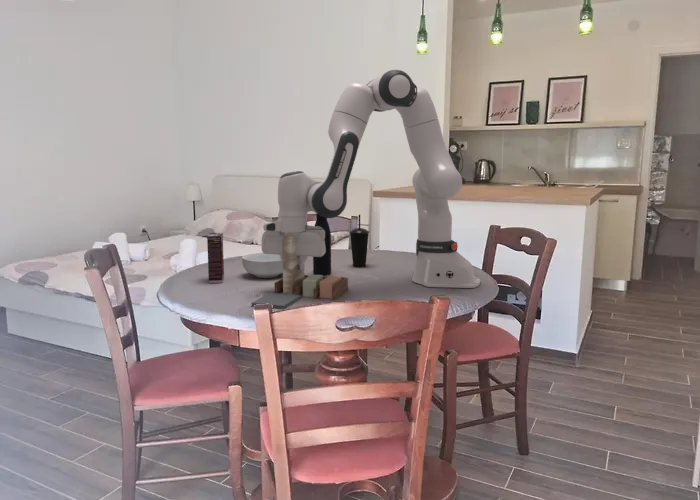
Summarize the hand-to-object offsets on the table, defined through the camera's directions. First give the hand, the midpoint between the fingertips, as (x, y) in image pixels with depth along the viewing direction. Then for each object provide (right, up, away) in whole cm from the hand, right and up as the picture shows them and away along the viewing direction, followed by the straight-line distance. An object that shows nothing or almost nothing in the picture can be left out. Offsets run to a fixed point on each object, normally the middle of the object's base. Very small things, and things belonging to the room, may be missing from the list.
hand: (293, 269), depth 167 cm
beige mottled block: (0, -7, +1) cm, 7 cm away
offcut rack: (+6, -7, 0) cm, 9 cm away
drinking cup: (+21, -1, +40) cm, 45 cm away
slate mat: (-4, -9, -11) cm, 15 cm away
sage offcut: (+6, -8, -1) cm, 10 cm away
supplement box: (-28, -5, +17) cm, 33 cm away
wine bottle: (+7, -3, +27) cm, 28 cm away
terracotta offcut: (+12, -8, -2) cm, 14 cm away
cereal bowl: (-12, -3, +24) cm, 28 cm away
